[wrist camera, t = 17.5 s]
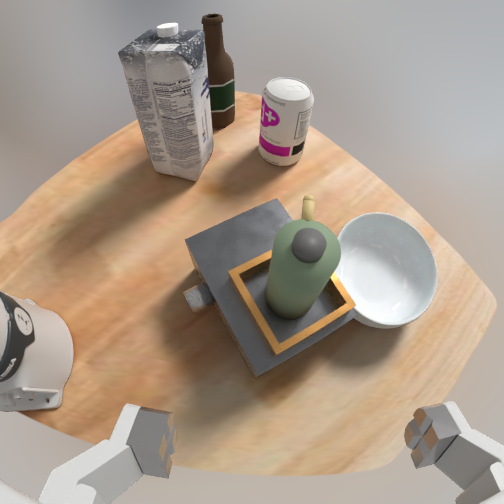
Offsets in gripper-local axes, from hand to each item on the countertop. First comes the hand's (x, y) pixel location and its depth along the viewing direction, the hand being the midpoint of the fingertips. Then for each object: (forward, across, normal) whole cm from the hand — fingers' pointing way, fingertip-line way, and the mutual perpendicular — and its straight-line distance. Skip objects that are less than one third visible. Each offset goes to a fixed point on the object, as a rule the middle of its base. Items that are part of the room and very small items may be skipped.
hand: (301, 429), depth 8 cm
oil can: (+25, -3, +7) cm, 26 cm away
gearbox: (+31, +1, +13) cm, 34 cm away
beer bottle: (+59, +10, -14) cm, 62 cm away
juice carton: (+50, +15, -5) cm, 52 cm away
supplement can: (+52, -2, -8) cm, 53 cm away
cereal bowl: (+35, -17, +10) cm, 40 cm away
